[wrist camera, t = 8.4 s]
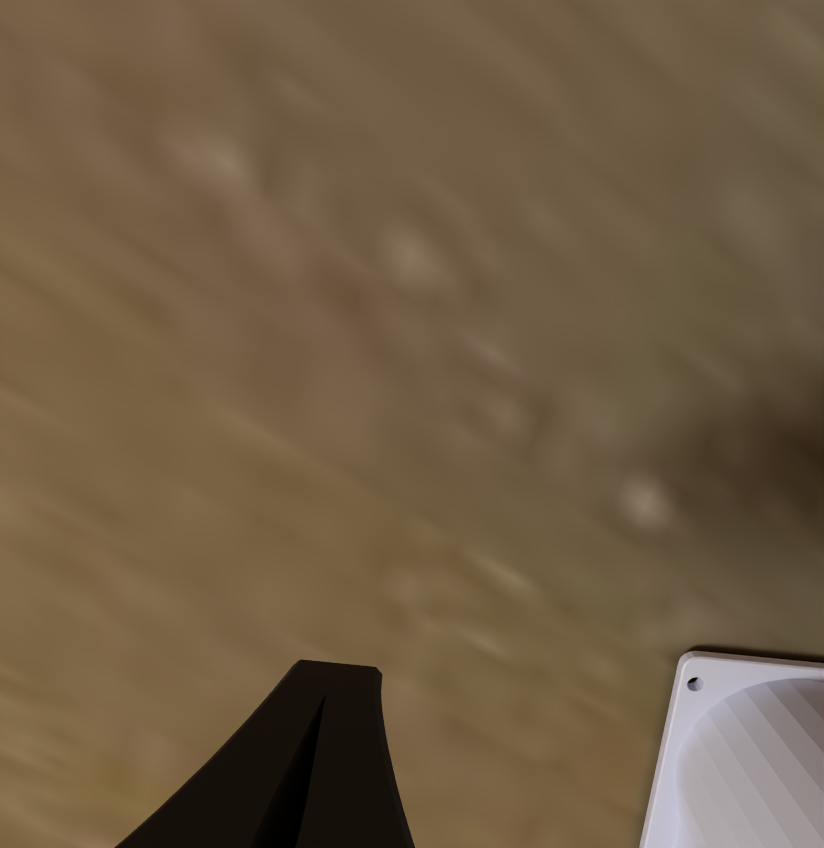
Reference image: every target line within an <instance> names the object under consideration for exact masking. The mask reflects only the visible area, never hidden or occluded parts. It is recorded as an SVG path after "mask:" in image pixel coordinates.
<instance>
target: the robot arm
mask: <svg viewBox="0 0 824 848" xmlns="http://www.w3.org/2000/svg"><path fill="white" fill-rule="evenodd" d="M695 677H698V679H697V680H696V681H695V682H693V683H688V681H689V680H690V679H691V678H695ZM381 685H382V674H381V672H380V671H379V670H378V669H377V668H376V667H370V666H360V665H350V664H340V663H330V662H320V661H310V660H299V661H298V662H297V663H295V664H294V665H293V666H292V667H291V669H290V670H289V671H288V672H287V674H286V675H285V676H284V677H283V679H282V680H281V681H280V682H279V683H278V685H277V686H276V687H275V688H274V689H273V691H272V692H271V693H270V694H269V695H268V697H267V698H266V699H265V700H264V701H263V702H262V703H261V705H260V706H259V707H258V708H257V709H256V710H255V711H254V713H253V714H252V715H251V716H250V717H249V718H248V719H247V720H246V721H245V722H244V724H243V725H242V726H241V727H240V728H239V729H238V730H237V731H236V732H235V733H234V734H233V735H232V736H231V737H230V738H229V740H228V741H227V742H226V743H225V744H224V745H223V746H222V747H221V748H220V749H219V750H218V751H217V752H216V753H215V754H214V755H213V756H212V757H211V759H210V760H209V761H208V762H207V763H206V764H205V765H204V766H202V767H201V768H200V769H199V770H198V771H197V772H196V773H195V774H194V775H193V776H192V777H191V778H190V779H189V780H188V781H187V782H186V783H185V784H184V785H183V786H182V787H181V788H180V789H179V790H178V791H177V792H176V793H175V794H173V795H172V796H171V797H170V798H169V799H168V800H167V801H166V802H165V803H164V804H163V805H162V806H161V807H160V808H159V809H158V810H157V811H156V812H154V813H153V814H152V815H151V816H150V817H149V818H148V819H147V820H146V821H144V822H143V823H142V824H141V825H140V826H139V827H138V828H137V829H136V830H134V831H133V832H132V833H131V834H130V835H129V836H127V837H126V838H125V839H124V840H123V841H122V842H121V843H119V844H118V845H117V846H116V847H115V848H415V846H414V843H413V840H412V837H411V833H410V830H409V827H408V823H407V820H406V817H405V813H404V810H403V807H402V803H401V799H400V795H399V792H398V788H397V784H396V780H395V775H394V771H393V767H392V762H391V758H390V754H389V749H388V744H387V739H386V733H385V727H384V720H383V713H382V702H381ZM639 848H824V663H816V662H806V661H795V660H785V659H775V658H765V657H754V656H744V655H734V654H724V653H713V652H703V651H690V652H688V653H685V654H684V655H683V656H682V657H681V658H680V660H679V662H678V667H677V671H676V676H675V681H674V686H673V690H672V695H671V700H670V705H669V709H668V714H667V719H666V723H665V728H664V733H663V738H662V742H661V747H660V752H659V757H658V761H657V766H656V771H655V776H654V780H653V785H652V790H651V795H650V799H649V804H648V809H647V814H646V818H645V823H644V828H643V833H642V837H641V842H640V847H639Z"/></svg>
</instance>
